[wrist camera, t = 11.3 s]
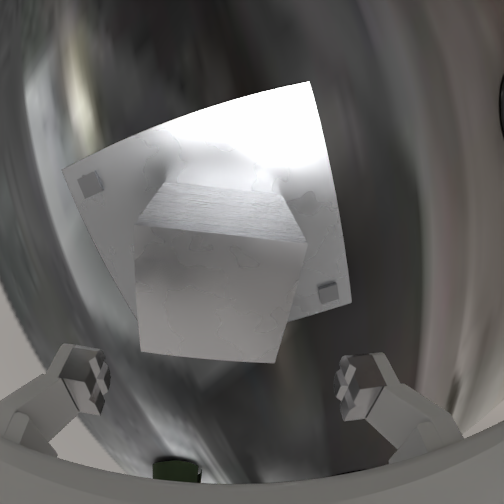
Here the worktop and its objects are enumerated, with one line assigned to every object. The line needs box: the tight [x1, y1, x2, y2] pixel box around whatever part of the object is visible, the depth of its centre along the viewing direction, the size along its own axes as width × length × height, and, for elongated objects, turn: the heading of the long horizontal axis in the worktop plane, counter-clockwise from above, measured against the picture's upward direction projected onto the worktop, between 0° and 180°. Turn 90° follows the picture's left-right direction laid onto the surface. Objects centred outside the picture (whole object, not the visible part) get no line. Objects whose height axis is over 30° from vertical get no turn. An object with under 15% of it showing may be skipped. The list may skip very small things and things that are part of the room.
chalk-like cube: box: [134, 182, 308, 363], centre depth 15 cm, size 6×6×6 cm
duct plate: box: [62, 81, 352, 322], centre depth 16 cm, size 14×14×4 cm
